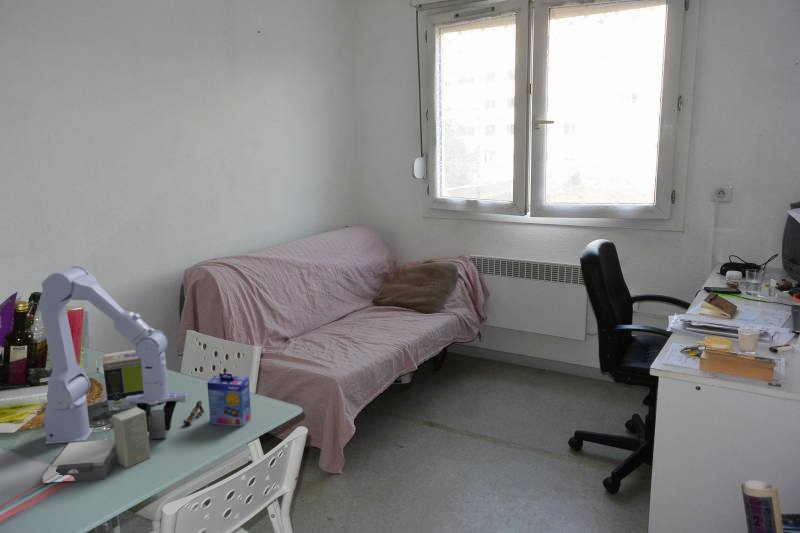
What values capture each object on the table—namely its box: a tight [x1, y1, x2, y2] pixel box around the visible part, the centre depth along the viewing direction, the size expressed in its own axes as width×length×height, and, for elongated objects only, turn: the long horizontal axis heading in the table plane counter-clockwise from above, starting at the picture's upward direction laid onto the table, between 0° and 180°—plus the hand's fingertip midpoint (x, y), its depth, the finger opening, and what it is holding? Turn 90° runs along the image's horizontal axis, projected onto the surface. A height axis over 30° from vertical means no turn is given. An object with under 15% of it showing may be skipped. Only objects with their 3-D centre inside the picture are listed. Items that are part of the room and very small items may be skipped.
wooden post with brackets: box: [182, 399, 205, 426], centre depth 163 cm, size 2×8×4 cm, turn 166°
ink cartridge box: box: [206, 373, 252, 427], centre depth 160 cm, size 10×6×14 cm, turn 81°
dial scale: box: [50, 438, 117, 482], centre depth 139 cm, size 13×14×3 cm
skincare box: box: [111, 407, 151, 468], centre depth 140 cm, size 6×4×12 cm
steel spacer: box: [148, 408, 170, 440], centre depth 152 cm, size 4×4×6 cm
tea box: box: [102, 349, 144, 411], centre depth 173 cm, size 15×10×15 cm, turn 115°
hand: (159, 429), depth 152 cm, fingers closed on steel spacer, 4 cm apart
